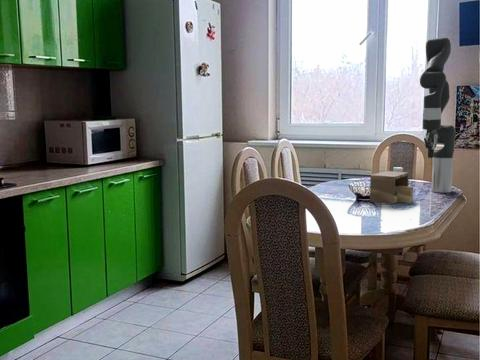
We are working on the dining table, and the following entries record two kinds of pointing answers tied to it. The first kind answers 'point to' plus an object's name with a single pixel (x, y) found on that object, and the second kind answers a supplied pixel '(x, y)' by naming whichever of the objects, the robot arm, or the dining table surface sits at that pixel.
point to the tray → (403, 194)
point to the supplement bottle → (397, 169)
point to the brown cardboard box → (386, 185)
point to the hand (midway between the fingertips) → (430, 157)
